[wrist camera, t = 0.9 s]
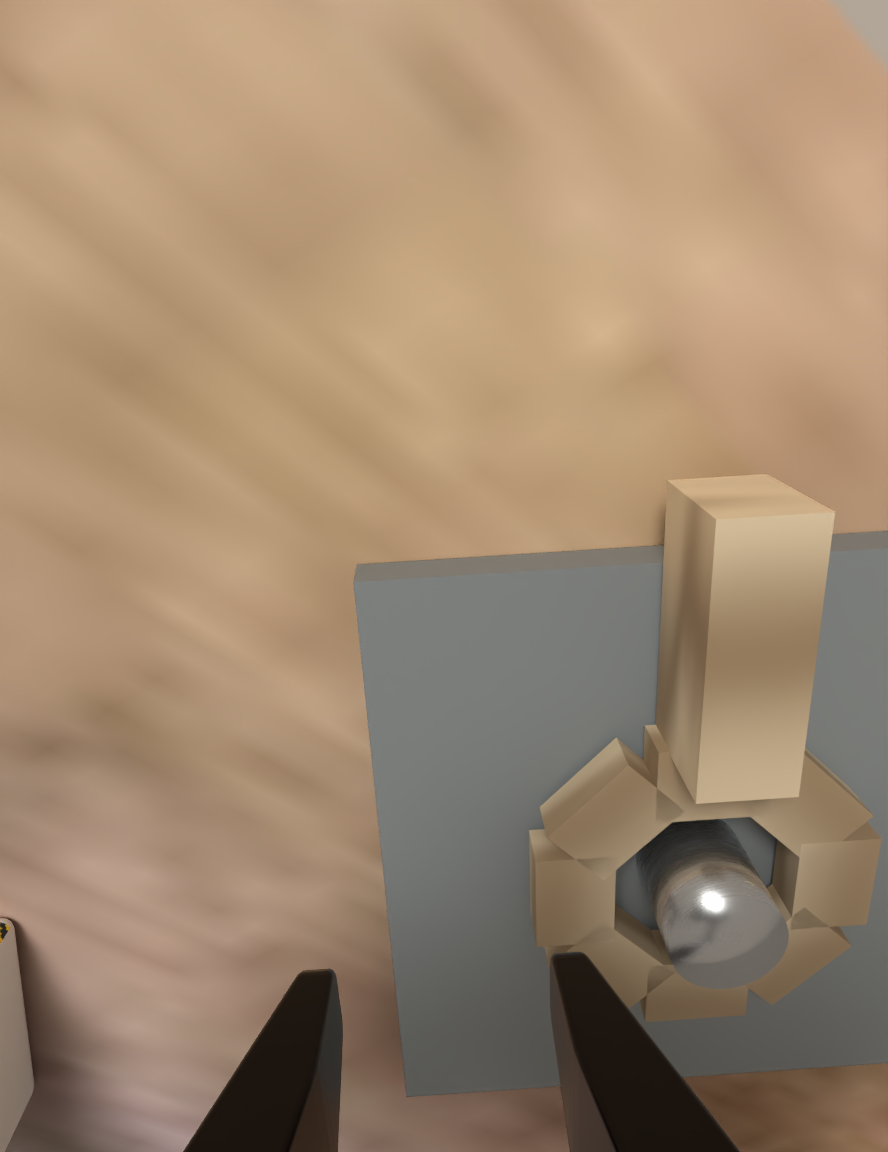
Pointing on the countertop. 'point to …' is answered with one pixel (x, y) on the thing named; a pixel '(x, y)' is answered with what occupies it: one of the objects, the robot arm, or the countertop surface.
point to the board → (547, 762)
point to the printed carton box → (12, 1039)
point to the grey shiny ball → (711, 905)
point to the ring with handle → (716, 754)
